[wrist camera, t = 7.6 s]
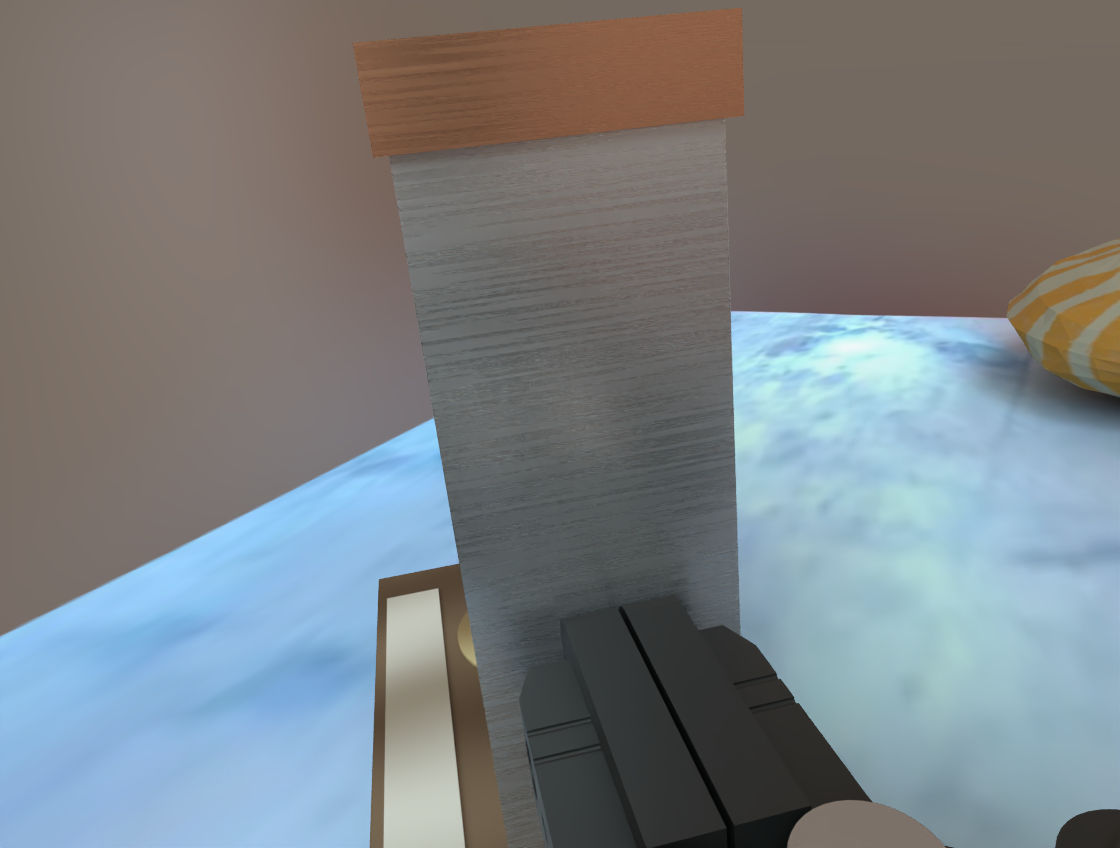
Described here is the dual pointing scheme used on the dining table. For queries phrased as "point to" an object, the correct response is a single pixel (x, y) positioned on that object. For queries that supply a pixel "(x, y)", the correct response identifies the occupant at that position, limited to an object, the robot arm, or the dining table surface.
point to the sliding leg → (570, 324)
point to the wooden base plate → (430, 721)
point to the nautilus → (1075, 318)
